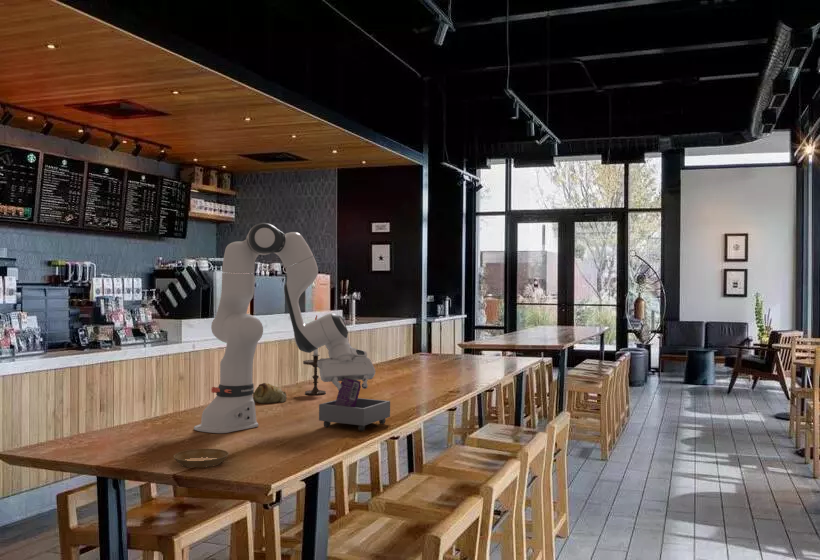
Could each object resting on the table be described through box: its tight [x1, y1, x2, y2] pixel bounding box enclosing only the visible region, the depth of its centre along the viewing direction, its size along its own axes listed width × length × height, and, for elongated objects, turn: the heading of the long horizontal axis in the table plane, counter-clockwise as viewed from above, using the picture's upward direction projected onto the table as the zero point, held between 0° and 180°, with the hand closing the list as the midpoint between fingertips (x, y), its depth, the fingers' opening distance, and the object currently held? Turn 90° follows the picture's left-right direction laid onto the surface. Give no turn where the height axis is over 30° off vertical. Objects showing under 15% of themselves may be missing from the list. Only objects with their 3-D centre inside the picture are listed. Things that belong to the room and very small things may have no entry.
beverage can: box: [335, 377, 362, 407], centre depth 260 cm, size 7×7×12 cm
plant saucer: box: [173, 448, 229, 468], centre depth 207 cm, size 15×15×3 cm
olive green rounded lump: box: [253, 382, 287, 404], centre depth 309 cm, size 14×12×8 cm
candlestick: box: [302, 314, 327, 396], centre depth 329 cm, size 11×11×35 cm
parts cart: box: [318, 397, 391, 432], centre depth 260 cm, size 18×18×8 cm
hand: (353, 388), depth 261 cm, fingers open, 8 cm apart
